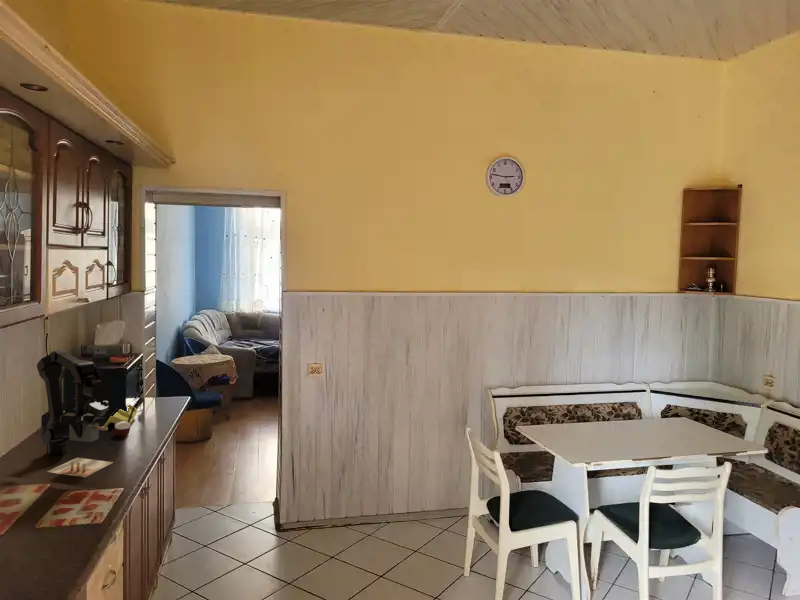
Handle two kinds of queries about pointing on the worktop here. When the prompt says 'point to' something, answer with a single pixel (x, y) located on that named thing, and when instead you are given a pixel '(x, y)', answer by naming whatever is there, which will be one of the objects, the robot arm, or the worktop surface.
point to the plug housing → (87, 432)
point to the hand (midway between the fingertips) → (84, 435)
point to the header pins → (78, 467)
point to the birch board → (90, 467)
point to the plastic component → (122, 416)
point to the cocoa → (123, 426)
